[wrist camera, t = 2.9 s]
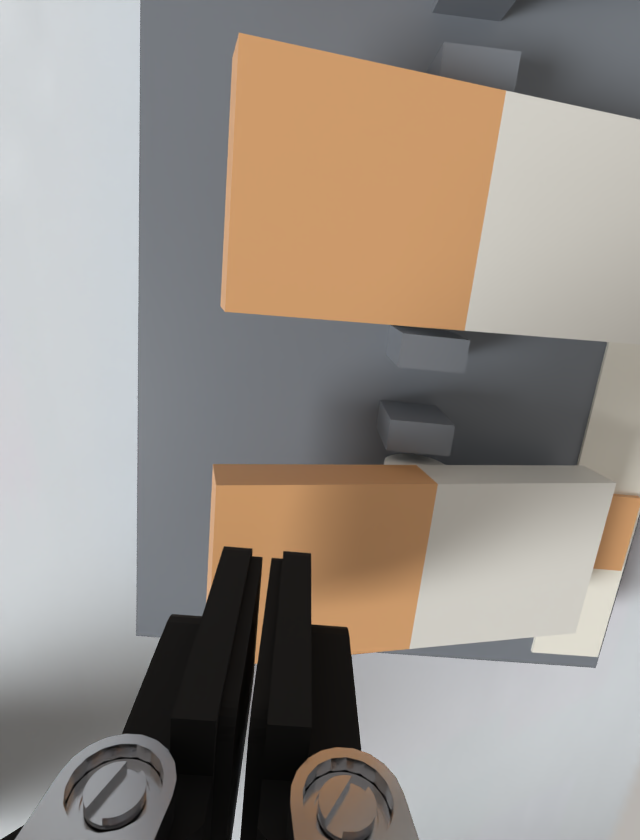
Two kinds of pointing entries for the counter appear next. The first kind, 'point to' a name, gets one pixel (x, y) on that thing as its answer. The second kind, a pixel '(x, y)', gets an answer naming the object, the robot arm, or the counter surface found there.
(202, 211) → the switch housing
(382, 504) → the switch
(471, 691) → the counter surface
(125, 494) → the counter surface
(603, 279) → the switch
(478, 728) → the counter surface
